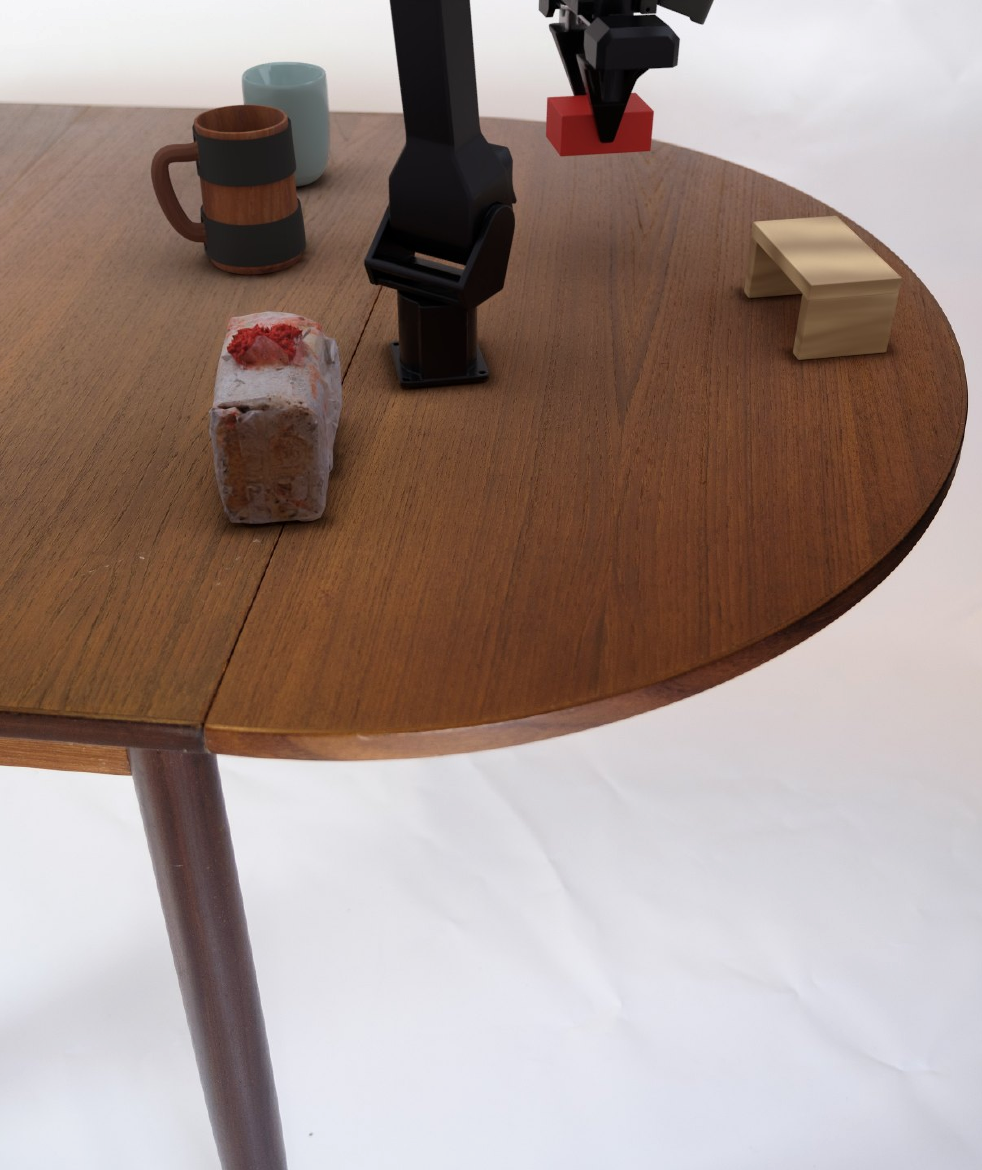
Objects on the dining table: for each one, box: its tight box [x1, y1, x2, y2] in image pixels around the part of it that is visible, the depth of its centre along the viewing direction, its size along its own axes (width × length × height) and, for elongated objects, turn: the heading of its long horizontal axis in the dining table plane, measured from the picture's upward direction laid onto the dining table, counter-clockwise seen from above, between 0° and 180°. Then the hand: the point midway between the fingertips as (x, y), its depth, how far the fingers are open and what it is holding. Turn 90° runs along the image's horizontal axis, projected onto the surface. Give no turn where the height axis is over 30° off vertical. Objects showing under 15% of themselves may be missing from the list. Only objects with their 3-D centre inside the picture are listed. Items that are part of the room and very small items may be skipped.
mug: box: [150, 104, 307, 275], centre depth 106 cm, size 9×12×12 cm
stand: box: [743, 215, 903, 361], centre depth 99 cm, size 12×7×6 cm, turn 11°
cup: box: [241, 61, 331, 188], centre depth 121 cm, size 8×8×10 cm
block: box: [545, 92, 655, 157], centre depth 103 cm, size 8×5×3 cm, turn 102°
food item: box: [208, 310, 343, 525], centre depth 80 cm, size 14×8×10 cm, turn 6°
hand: (597, 132), depth 103 cm, fingers closed on block, 5 cm apart
